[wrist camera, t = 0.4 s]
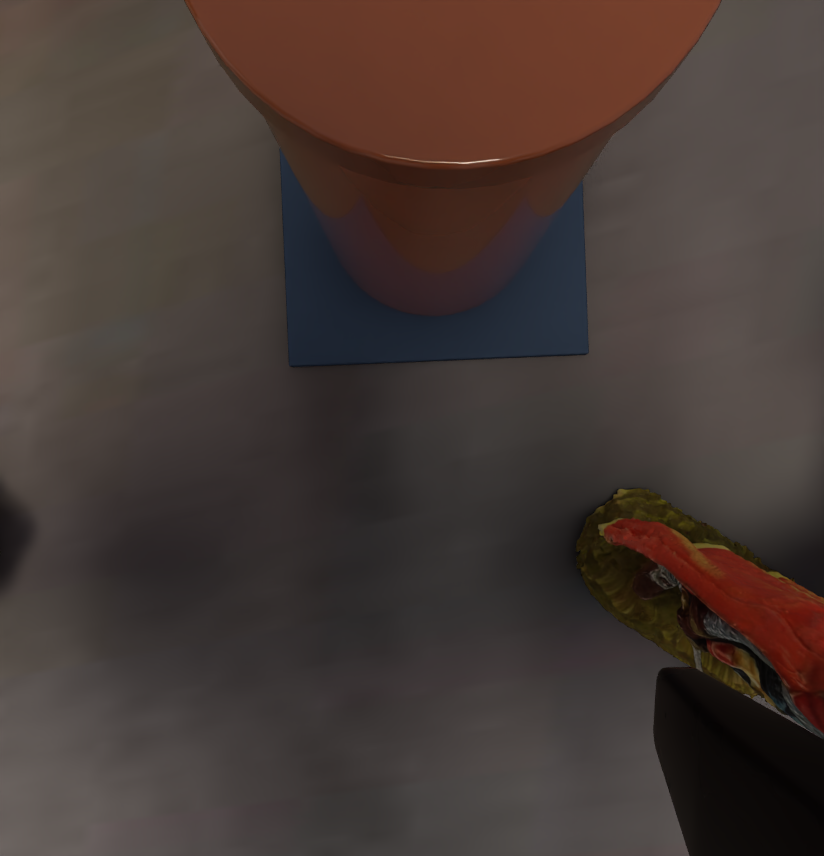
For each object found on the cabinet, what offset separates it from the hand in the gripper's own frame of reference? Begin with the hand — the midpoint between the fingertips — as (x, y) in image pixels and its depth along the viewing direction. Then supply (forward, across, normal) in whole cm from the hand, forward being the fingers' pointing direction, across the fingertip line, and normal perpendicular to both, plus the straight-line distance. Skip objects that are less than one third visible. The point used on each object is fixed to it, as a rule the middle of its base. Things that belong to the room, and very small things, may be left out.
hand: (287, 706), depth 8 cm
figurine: (+12, -10, +5) cm, 16 cm away
